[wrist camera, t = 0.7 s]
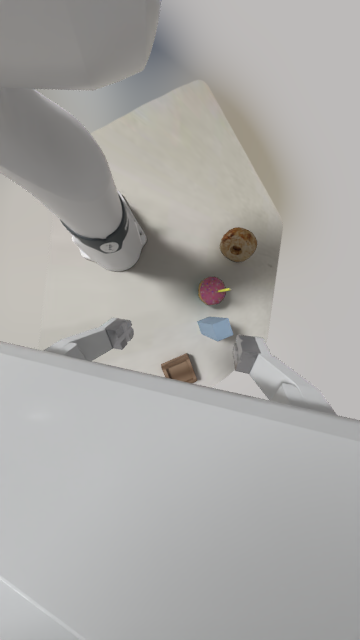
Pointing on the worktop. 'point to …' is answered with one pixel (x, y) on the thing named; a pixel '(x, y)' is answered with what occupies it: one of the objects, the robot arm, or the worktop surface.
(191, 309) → the worktop surface
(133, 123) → the worktop surface
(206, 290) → the cupcake
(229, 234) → the bagel
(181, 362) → the walnut base
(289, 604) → the robot arm
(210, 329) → the slate block
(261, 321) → the worktop surface
